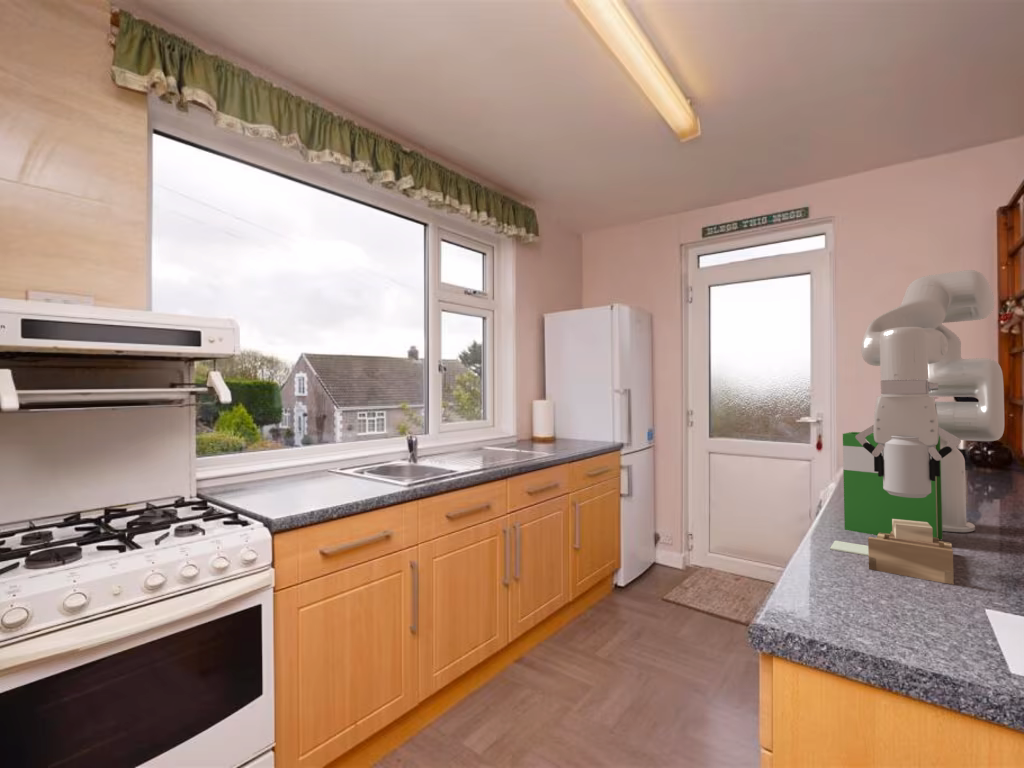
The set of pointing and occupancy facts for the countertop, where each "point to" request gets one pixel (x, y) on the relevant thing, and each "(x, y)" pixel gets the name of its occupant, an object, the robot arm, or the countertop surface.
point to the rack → (911, 559)
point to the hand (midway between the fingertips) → (906, 477)
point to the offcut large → (934, 544)
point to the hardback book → (881, 494)
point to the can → (906, 467)
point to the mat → (850, 548)
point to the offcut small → (912, 530)
